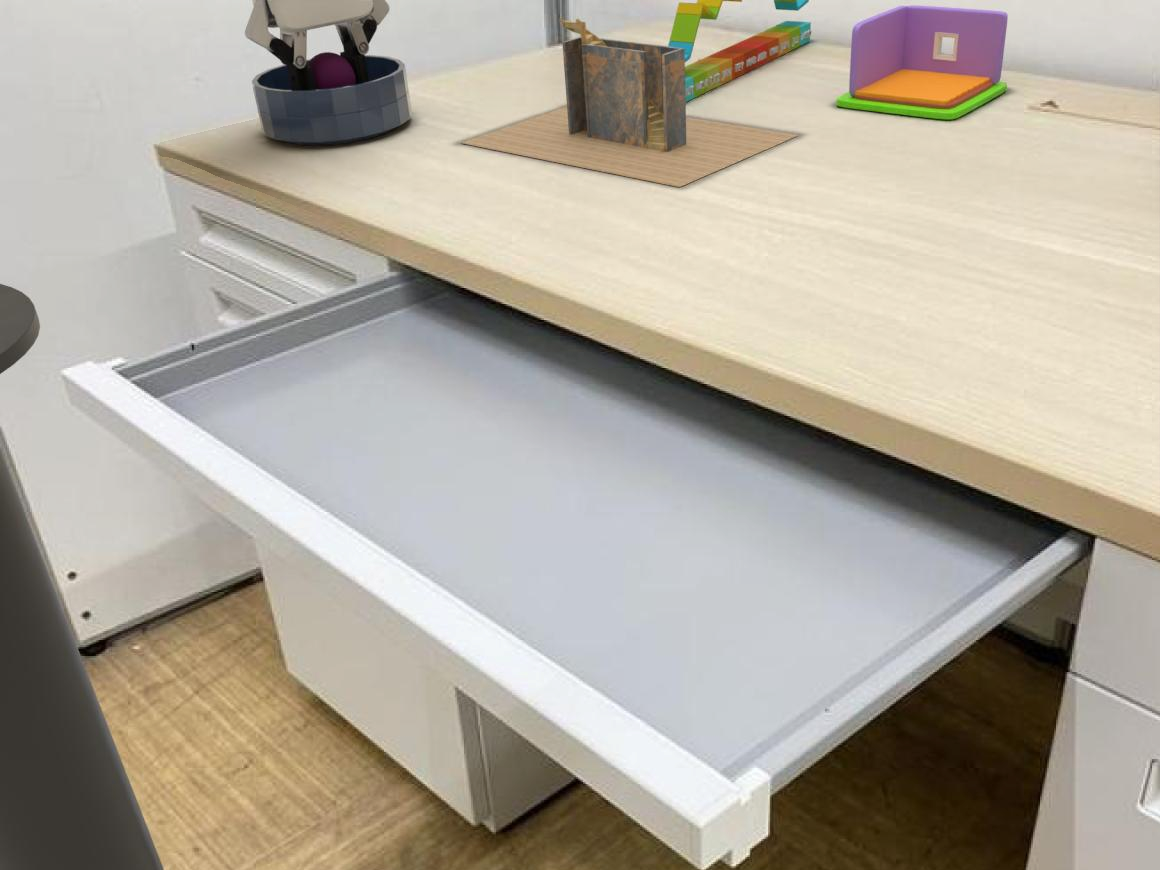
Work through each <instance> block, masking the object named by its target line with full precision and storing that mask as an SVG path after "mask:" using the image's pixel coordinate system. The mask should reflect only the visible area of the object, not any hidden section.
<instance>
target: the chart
mask: <svg viewBox="0 0 1160 870" xmlns="http://www.w3.org/2000/svg"><path fill="white" fill-rule="evenodd" d="M723 2H734V3H735V2H737V3H738V2H739V3H742V2H743V0H697V1H696V2H695V3H694V2H678V5H677V9H676V13H675V17H674V22H673V25H672V29H671V33H670V37H669V41H668V44H667V46H669V47H677V48H685V63H687V62H688V61H689V60H691V58H692V53H693V50H694V45H695V41H696V37H697V34H698V30H699V26H700V23H701V20H715V21H717V19H718V17H719V13H720V10H721V8H722V4H723ZM809 2H810V0H773V4H774V8H775V10H776V11H777V10H778V11H795V12H796V11H800V9H802V8H803V7H804V6H805V5H807V4H808V3H809ZM811 26H812V22H811V21H799V20H798V21H795V20H785V21H782V22H780V23H778V24H776V25H774V26H772V27H770V28H767V29H765V30H764V31H761V32H759V33H757V34H754V35H752V36H750V37H748V38H745V39H743V40H741V41H739V42H737V43H734V44H732V45H730V46H728V47H726V48H724V49H720V50H719V51H717V52H715V53H712V54H709V55H708V56H706V57H704V58H701V59H699V60H697V61H694V62H692V63H690V64H687V65H685V97H686V103H687V102H688V101H691V100H693V99H695V98H698V97H699V96H701V95H703V94H706V93H707V92H709V91H711V90H714V89H716V88H718V87H719V86H722V85H723V84H726V83H728V82H730V81H732V80H734V79H736V78H738V77H740V76H742V75H744V74H747V73H748V72H750V71H752V70H754V69H756V68H758V67H761V66H763V65H765V64H767V63H769V62H772V61H773V60H775V59H777V58H779V57H781V56H783V55H785V54H788V53H789V52H791V51H794V50H795V49H797V48H800V47H801V46H803V45H804V44H805V45H806V43H809V42H811V36H812V30H811Z"/></svg>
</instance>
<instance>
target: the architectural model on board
mask: <svg viewBox="0 0 1160 870" xmlns="http://www.w3.org/2000/svg"><path fill="white" fill-rule="evenodd" d="M558 20H559V23H562V28H564V29H566V30H567V31H570V32H573V33H575V34H578V35H580V36H578V37H575V38H572V39H569V40H564V41H562V56H563V57H562V58H563V68H564V69H563V70H564V83H565V84H564V85H565V97H566V106H564V107H561V108H559V109H555V110H552V111H550V112H547V113H544V114H540V115H538V116H535V117H532V118H530V119H526V120H524V121H521V122H517V123H515V124H514V123H513V124H511V125H509V126H506V127H503V128H500V129H497V130H494V131H492V132H491V131H490V132H489V133H485V134H483V135H480V136H477V137H473V138H471V139H469V140H465V141H462V142H461V144H465V145H468V146H473V147H478V148H483V149H489V150H492V151H493V150H494V151H498V152H502V153H503V152H504V153H509V154H512V155H513V154H514V155H519V156H522V157H529V158H533V159H538V160H543V161H548V162H553V163H559V164H562V165H567V166H572V167H578V168H583V169H588V170H593V171H598V172H602V173H607V174H613V175H618V176H623V177H627V178H632V179H637V180H642V181H647V182H652V183H656V184H657V183H658V184H662V185H666V186H667V185H668V186H673V187H676V188H677V187H678V188H681V187H683V186H685V185H687V184H690V183H693V182H695V181H697V180H700V179H701V178H704V177H706V176H709V175H711V174H713V173H715V172H718V171H721V170H722V169H724V168H727V167H729V166H732V165H734V164H737V163H738V162H741V161H743V160H745V159H747V158H750V157H752V156H755V155H757V154H759V153H761V152H764V151H765V150H768V149H770V148H773V147H776V146H777V145H780V144H782V143H784V142H787V141H789V140H791V139H793V138H796V137H798V136H799V135H798V134H793V133H786V132H780V131H774V130H767V129H762V128H754V127H748V126H742V125H736V124H729V123H723V122H717V121H711V120H705V119H699V118H697V119H696V118H694V117H693V118H691V117H687V106H686V105H687V102H686V97H685V66H686V62H685V48H677V47H669V46H668V45H659V44H651V43H643V42H635V41H626V40H617V39H609V38H601V37H599V36H598V35H596V34H595V33H593V32H591V31H590V30H589V29H587V24H586V21H582V20H580V19H579V18H575V21H571V20H566V19H564V18H562V17H559V19H558Z"/></svg>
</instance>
